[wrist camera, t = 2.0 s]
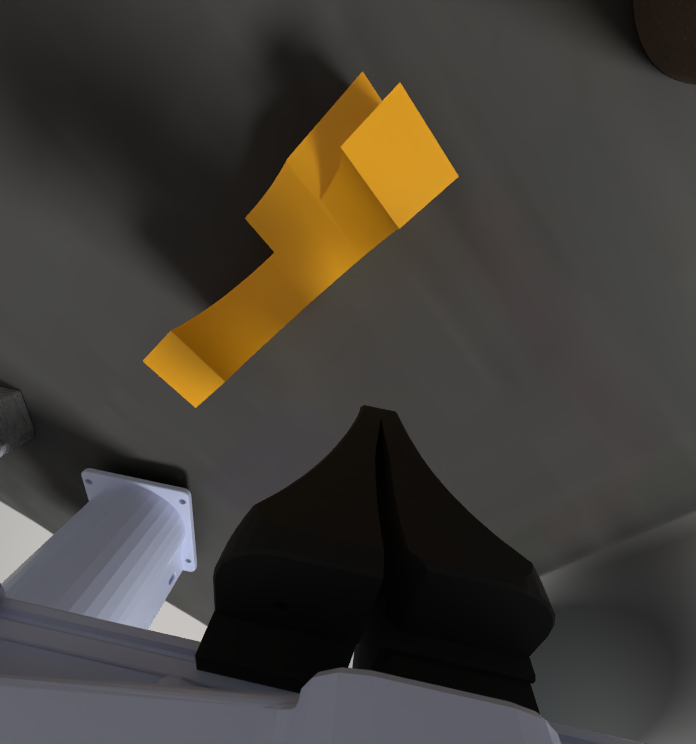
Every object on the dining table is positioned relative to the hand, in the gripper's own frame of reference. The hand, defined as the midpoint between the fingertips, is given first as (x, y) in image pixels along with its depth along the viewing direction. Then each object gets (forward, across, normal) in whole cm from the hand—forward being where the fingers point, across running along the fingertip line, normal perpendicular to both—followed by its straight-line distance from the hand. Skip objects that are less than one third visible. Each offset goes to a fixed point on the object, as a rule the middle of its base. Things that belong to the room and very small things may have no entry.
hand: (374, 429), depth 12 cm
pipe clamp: (+7, +5, -5) cm, 10 cm away
